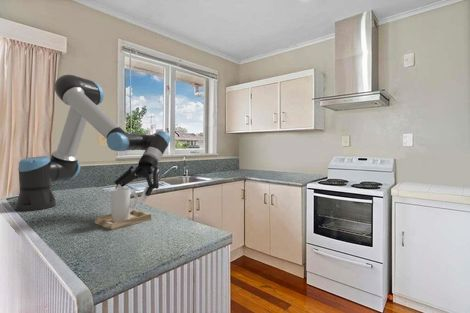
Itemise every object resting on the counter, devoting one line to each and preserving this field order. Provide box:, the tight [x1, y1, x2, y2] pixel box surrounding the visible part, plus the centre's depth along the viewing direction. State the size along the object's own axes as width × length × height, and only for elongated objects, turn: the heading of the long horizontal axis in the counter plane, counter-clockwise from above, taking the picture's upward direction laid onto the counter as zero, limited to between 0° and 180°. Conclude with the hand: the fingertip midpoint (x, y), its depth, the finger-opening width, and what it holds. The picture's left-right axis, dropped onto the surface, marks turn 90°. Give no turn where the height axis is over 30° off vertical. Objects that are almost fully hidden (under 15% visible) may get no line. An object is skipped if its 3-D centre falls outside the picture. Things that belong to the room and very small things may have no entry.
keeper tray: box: [94, 209, 152, 231], centre depth 99 cm, size 13×16×2 cm
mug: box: [110, 187, 139, 223], centre depth 99 cm, size 10×7×12 cm, turn 134°
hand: (126, 201), depth 100 cm, fingers open, 13 cm apart
